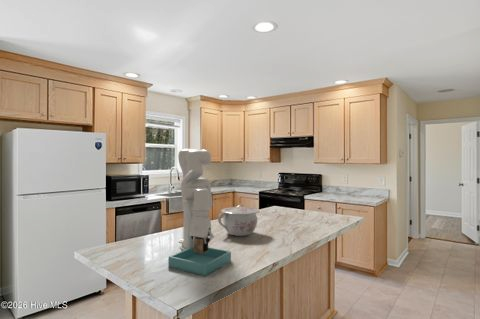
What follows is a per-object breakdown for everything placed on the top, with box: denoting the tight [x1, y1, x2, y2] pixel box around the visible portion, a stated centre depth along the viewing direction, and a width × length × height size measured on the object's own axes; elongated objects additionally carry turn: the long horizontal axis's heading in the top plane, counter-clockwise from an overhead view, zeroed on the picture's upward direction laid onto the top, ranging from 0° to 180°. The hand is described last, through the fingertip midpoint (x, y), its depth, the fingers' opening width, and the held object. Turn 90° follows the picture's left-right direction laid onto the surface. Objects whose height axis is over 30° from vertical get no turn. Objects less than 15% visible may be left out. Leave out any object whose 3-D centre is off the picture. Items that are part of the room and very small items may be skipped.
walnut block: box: [194, 237, 207, 254], centre depth 143 cm, size 5×5×7 cm
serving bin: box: [167, 246, 232, 277], centre depth 143 cm, size 22×22×5 cm
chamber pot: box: [217, 204, 260, 237], centre depth 203 cm, size 28×28×21 cm
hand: (200, 249), depth 143 cm, fingers closed on walnut block, 5 cm apart
